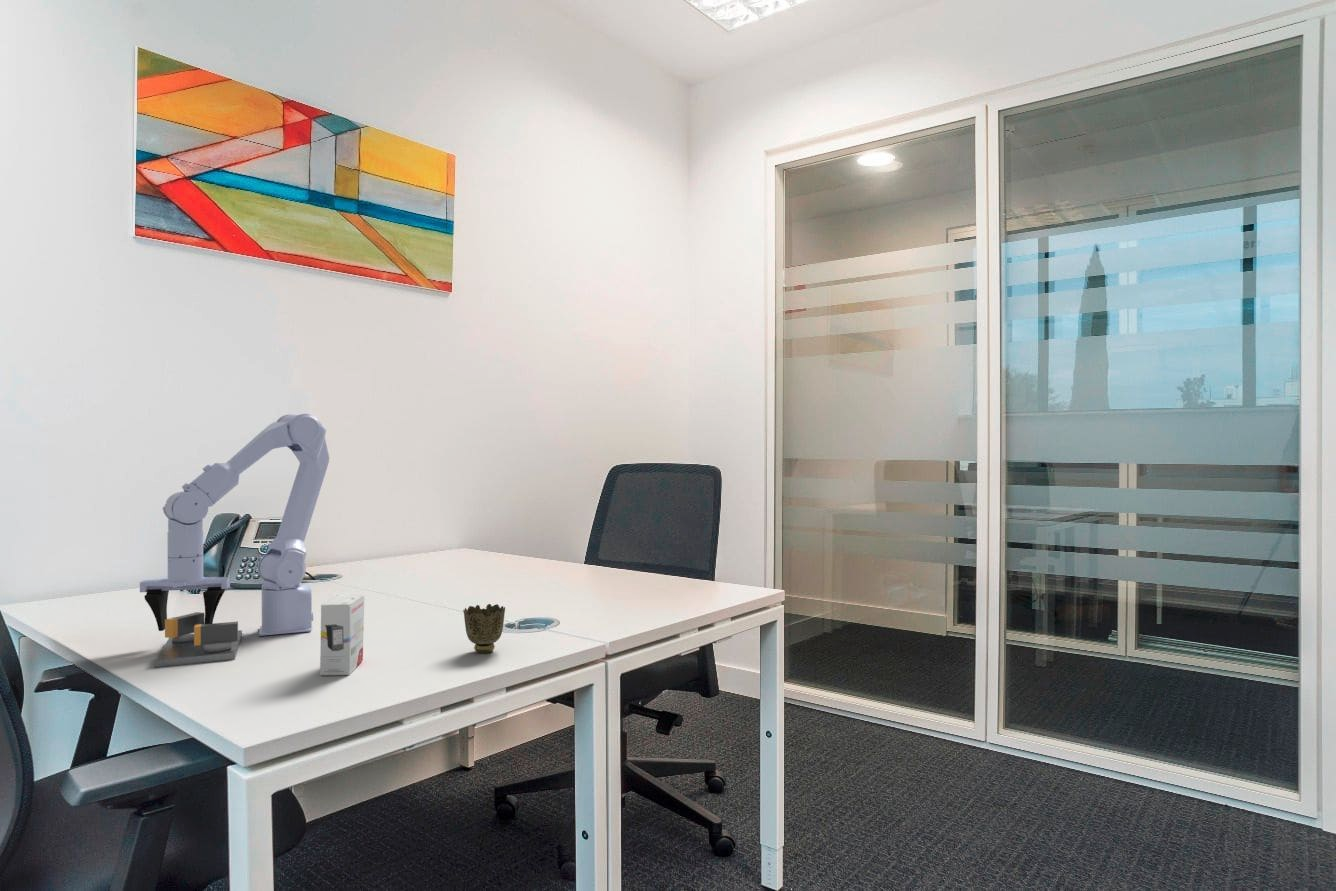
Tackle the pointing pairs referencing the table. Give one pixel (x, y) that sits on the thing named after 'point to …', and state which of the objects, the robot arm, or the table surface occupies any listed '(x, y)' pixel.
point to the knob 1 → (183, 627)
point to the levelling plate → (192, 653)
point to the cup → (484, 626)
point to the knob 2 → (216, 636)
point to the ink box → (341, 634)
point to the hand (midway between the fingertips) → (185, 628)
